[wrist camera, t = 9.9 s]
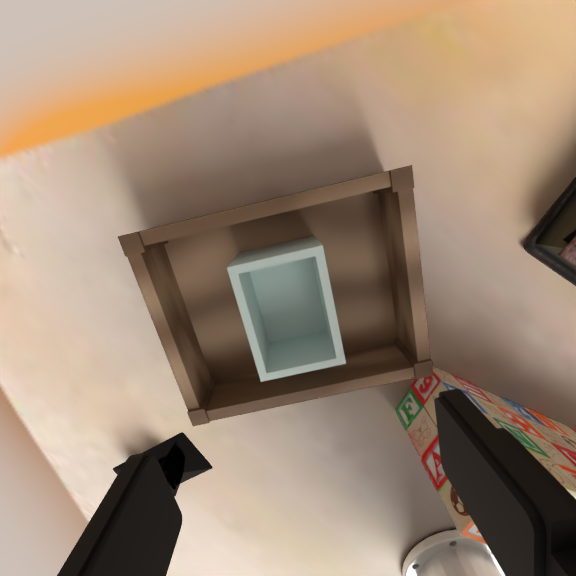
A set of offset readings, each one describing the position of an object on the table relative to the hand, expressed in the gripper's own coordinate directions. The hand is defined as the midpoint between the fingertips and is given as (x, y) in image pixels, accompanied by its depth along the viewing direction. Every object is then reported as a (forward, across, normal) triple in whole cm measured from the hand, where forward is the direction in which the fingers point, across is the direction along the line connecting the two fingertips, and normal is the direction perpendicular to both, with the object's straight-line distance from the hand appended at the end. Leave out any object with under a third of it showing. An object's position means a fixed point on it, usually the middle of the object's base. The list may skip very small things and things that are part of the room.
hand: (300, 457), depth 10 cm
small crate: (+17, 0, 0) cm, 17 cm away
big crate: (+18, 0, 0) cm, 18 cm away
